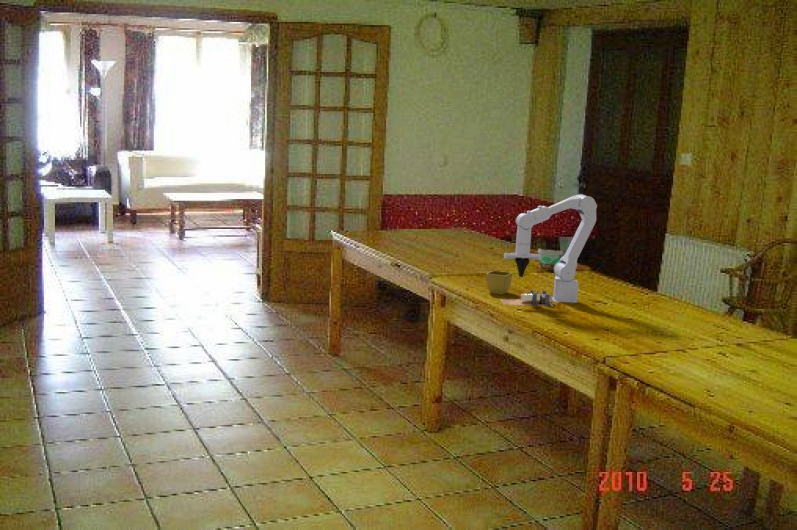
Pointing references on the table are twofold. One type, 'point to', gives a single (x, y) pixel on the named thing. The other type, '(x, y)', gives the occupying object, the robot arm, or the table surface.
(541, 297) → the tube
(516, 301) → the tile
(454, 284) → the table surface
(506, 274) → the flower pot
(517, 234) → the robot arm
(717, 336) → the table surface
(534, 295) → the rail
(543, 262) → the food container
